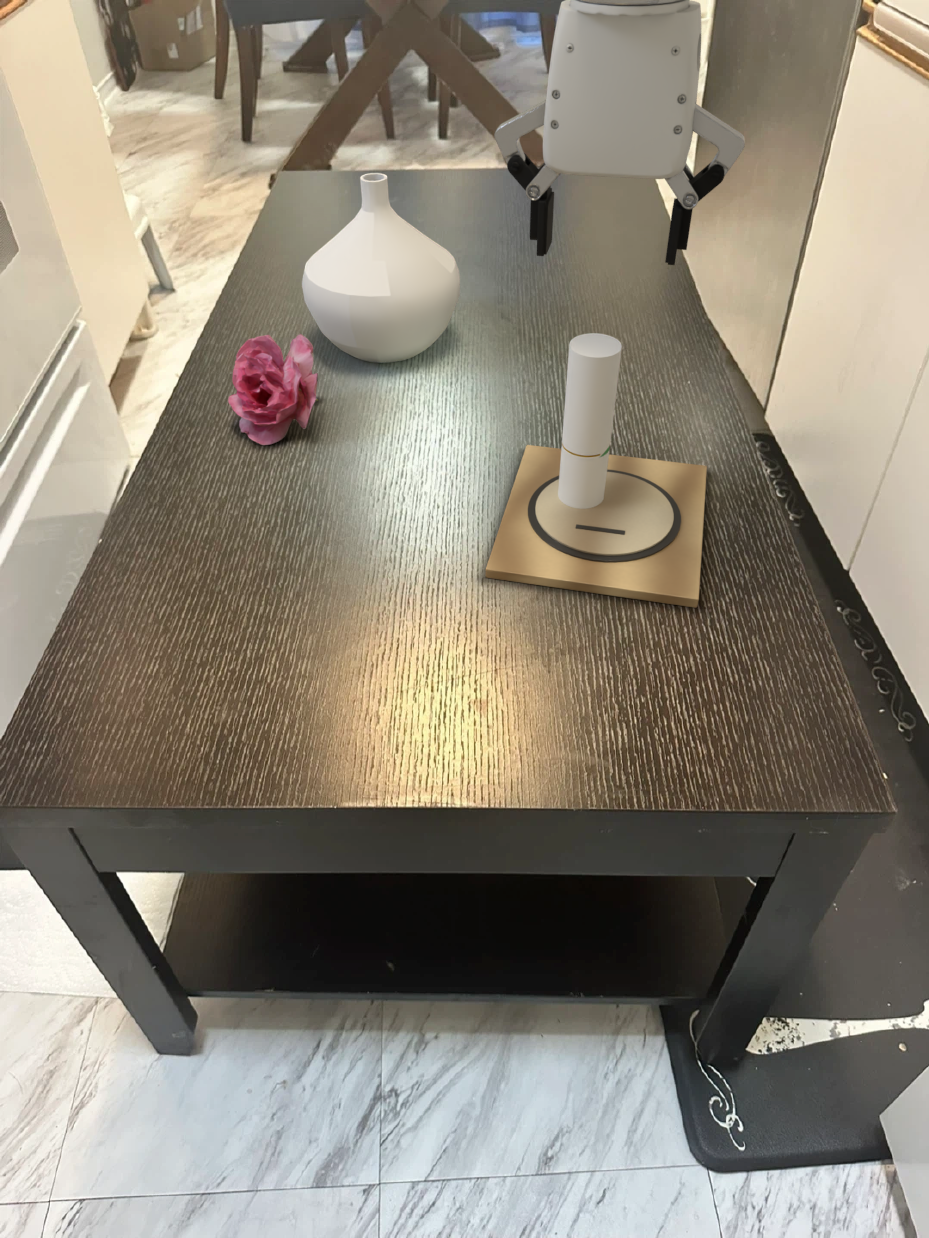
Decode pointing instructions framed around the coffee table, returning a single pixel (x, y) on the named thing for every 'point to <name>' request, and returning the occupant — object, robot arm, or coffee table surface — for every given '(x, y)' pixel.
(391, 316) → the vase
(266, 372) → the flower
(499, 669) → the coffee table surface
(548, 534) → the drawing board
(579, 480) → the tube
